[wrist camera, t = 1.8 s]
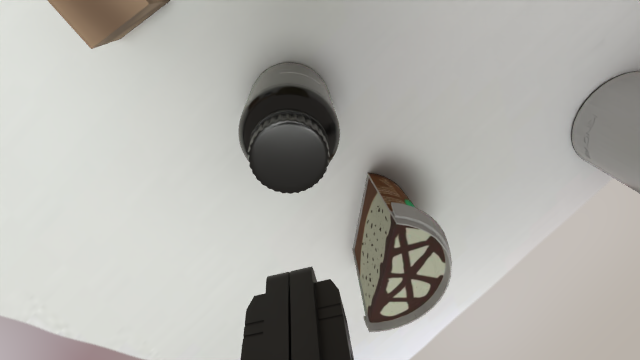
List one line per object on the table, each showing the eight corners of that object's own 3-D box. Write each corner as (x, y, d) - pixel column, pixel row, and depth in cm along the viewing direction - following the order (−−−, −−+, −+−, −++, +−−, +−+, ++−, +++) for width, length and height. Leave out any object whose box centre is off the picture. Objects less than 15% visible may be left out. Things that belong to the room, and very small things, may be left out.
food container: (404, 262, 42) (435, 337, 33) (350, 260, 41) (367, 336, 32) (432, 163, 36) (479, 221, 27) (370, 158, 35) (398, 217, 27)
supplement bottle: (313, 47, 30) (327, 82, 20) (339, 122, 34) (364, 187, 23) (235, 78, 31) (209, 127, 20) (268, 148, 34) (260, 223, 24)
